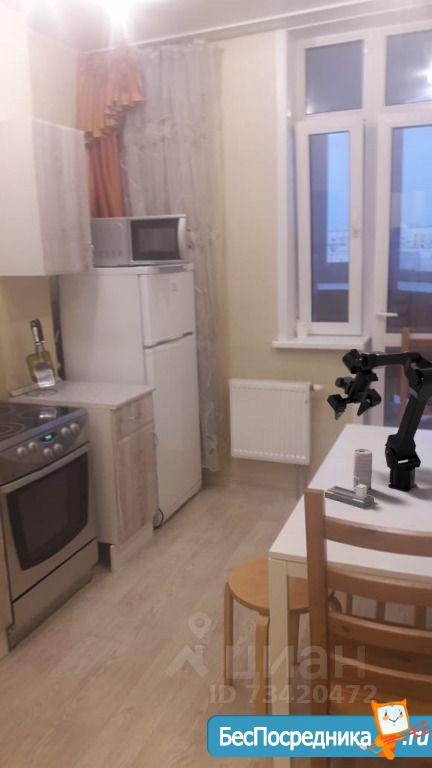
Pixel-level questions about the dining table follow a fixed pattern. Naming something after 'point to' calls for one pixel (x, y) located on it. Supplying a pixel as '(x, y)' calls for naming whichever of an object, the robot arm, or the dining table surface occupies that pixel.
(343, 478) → the dining table surface
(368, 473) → the energy drink
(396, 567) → the dining table surface
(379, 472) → the dining table surface
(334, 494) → the switch plate
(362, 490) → the switch knob
